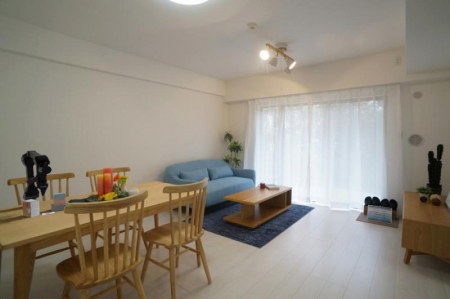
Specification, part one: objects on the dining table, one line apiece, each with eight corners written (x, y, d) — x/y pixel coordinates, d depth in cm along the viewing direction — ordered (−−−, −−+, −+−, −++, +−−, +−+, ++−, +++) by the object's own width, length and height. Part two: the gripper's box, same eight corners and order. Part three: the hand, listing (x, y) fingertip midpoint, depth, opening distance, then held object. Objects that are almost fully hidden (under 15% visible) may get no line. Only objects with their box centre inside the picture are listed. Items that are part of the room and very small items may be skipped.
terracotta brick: (53, 204, 169) (53, 198, 169) (64, 202, 174) (64, 197, 173) (53, 205, 165) (53, 200, 165) (65, 204, 170) (65, 198, 170)
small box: (22, 216, 156) (21, 201, 155) (31, 213, 161) (31, 198, 160) (31, 217, 153) (30, 202, 153) (40, 214, 159) (39, 199, 158)
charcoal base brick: (50, 209, 169) (50, 204, 169) (67, 206, 176) (67, 201, 176) (51, 212, 163) (51, 206, 163) (68, 209, 170) (68, 204, 170)
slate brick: (53, 198, 169) (52, 193, 169) (64, 197, 173) (64, 192, 173) (53, 200, 165) (53, 194, 165) (65, 198, 170) (65, 193, 169)
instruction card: (41, 213, 161) (41, 213, 161) (54, 211, 165) (54, 211, 165) (42, 215, 157) (42, 215, 157) (54, 213, 162) (54, 212, 162)
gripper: (26, 172, 164) (27, 193, 164) (26, 176, 149) (27, 199, 150) (46, 170, 171) (47, 191, 172) (47, 174, 157) (48, 196, 158)
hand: (42, 194), depth 163 cm, fingers open, 9 cm apart
